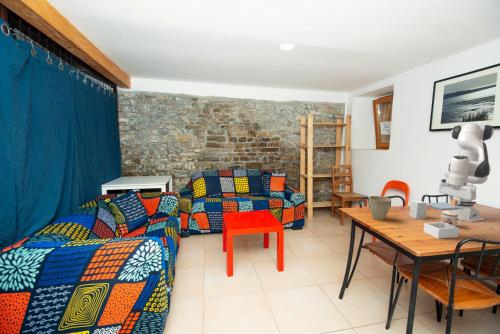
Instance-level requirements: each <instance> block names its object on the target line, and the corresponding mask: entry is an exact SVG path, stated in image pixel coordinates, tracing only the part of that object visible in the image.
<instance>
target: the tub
mask: <svg viewBox="0 0 500 334" xmlns="http://www.w3.org/2000/svg"><path fill="white" fill-rule="evenodd" d="M423 233H425V234H428V235H429V236H432V237H434V238H436V239H452V238H459V233H460V228H459V227H457V226H456V227H455V226H452V225H450V224H447V223H444V222H439V221H438V222H437V221H436V222H424V224H423Z"/></svg>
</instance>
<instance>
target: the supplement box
mask: <svg viewBox="0 0 500 334" xmlns="http://www.w3.org/2000/svg"><path fill="white" fill-rule="evenodd" d="M426 203H427V202H424V201H422V200H410V206H409V217H410V218H411V217H412V218H413V219H417V220H425V219H426V216H427V214H426V213H427V205H426Z"/></svg>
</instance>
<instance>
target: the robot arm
mask: <svg viewBox="0 0 500 334" xmlns="http://www.w3.org/2000/svg"><path fill="white" fill-rule="evenodd" d="M494 134H495V130H494V127H493V125H489V124H477V123H472V122H471V123H467V124H464V125H455V126H453V127H452V129H451V132H450V135H451V138H452V139H453V140H456V143H457V145H458V147H459V151H458V155H454V156H452V158H451V160H450V163H449V164H448V167H447V168H446V169H445V171H444V177H445V178H442V179H440V181H439V182H440V183H439V185H438V192H439V194H444V195H448V198H449V203H451V200H458V201H456V204H458V205H456V206H460V207H463V209H458V210H452V211H453V212H454V213H457V214H458V218H461V219H462V221H467V222H471V223H474V222H479V221H481V222H482V221H485V218H483V217H482V216H481V212H480V210H479V209H477V208H476V207H475V206H474V205H477V201H475V200H476V199H477V191H476V190H477V187H476V186H475V185H482V184H485V183H486V182H487V180H488V178H489V177H488V176H489V175H490V174H491V171H492V170H491V164H490V161H489V155H488V154H489V153H488V147H487V144H486V141H487V140H491V138H492V137H493V136H494ZM458 220H460V219H458Z"/></svg>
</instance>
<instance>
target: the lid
mask: <svg viewBox="0 0 500 334" xmlns="http://www.w3.org/2000/svg"><path fill="white" fill-rule="evenodd" d="M456 201H458V200H451V202H425V203H426V206H429V207H430V208H433V209H436V210H438V211H446V210H458V209H463V207H460V206H456V205H458V204H456Z"/></svg>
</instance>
